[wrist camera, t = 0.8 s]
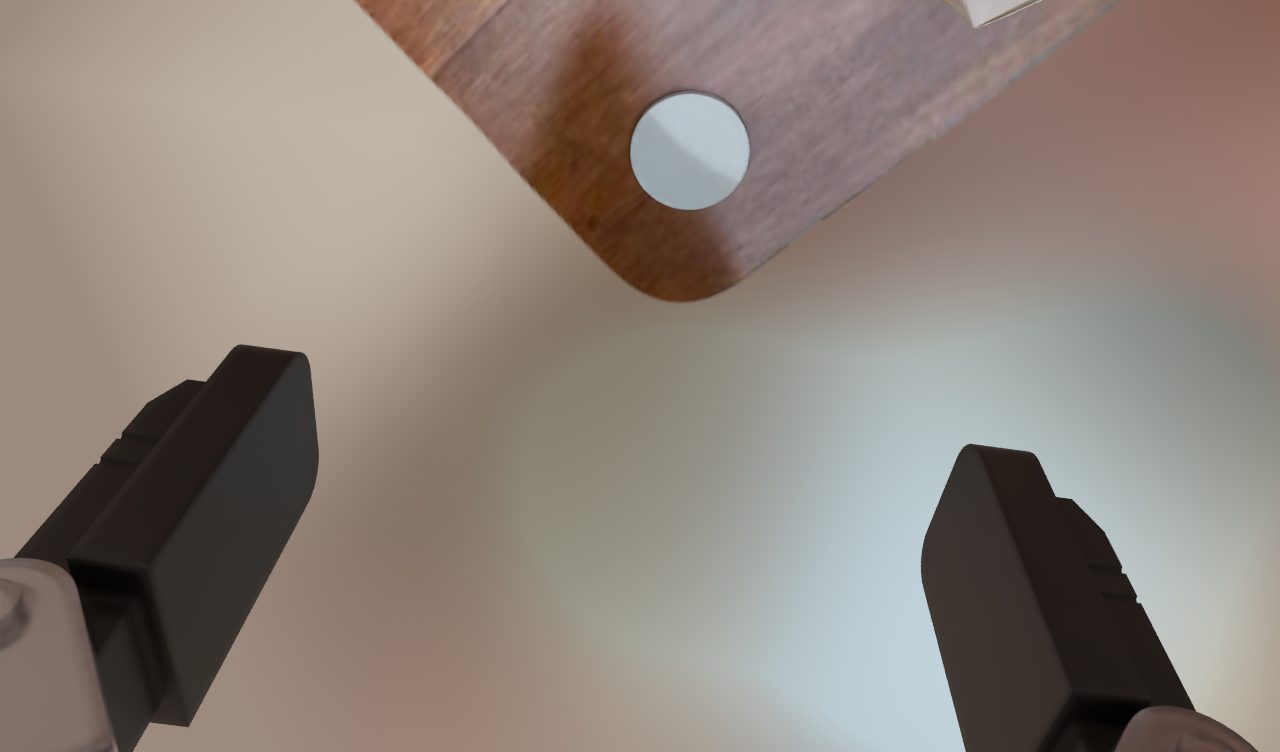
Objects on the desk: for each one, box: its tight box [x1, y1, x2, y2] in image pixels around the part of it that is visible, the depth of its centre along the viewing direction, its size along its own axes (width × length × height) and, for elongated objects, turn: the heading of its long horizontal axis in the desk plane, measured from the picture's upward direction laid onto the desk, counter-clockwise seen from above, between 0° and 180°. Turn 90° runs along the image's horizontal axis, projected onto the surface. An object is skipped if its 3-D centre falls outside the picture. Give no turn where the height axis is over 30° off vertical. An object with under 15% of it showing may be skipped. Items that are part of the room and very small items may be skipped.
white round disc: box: [630, 90, 750, 210], centre depth 46 cm, size 6×6×1 cm
